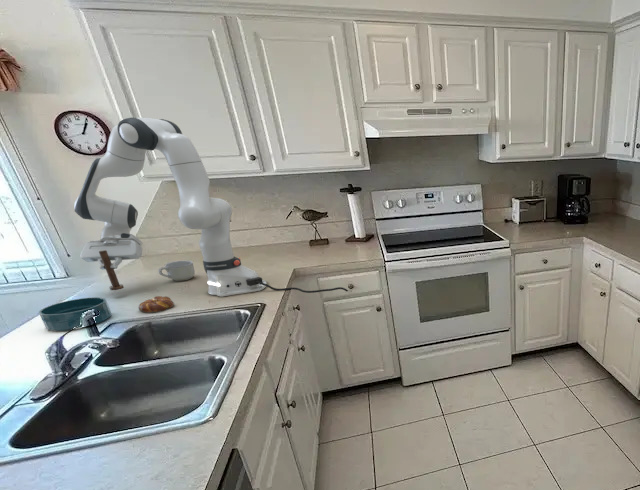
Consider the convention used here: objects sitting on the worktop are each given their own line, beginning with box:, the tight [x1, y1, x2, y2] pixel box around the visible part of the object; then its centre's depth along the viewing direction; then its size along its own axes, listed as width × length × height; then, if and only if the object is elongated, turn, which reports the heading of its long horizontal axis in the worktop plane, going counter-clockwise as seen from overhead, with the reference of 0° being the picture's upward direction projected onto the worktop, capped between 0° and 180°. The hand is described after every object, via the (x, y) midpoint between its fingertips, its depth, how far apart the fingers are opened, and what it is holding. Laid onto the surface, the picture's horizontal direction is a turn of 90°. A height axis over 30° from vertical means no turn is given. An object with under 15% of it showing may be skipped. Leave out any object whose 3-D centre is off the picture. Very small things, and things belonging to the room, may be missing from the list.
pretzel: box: [137, 295, 175, 313], centre depth 161 cm, size 12×11×4 cm
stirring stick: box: [99, 250, 125, 291], centre depth 169 cm, size 4×4×16 cm
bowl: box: [38, 296, 112, 332], centre depth 148 cm, size 17×17×6 cm
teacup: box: [158, 259, 196, 282], centre depth 194 cm, size 14×11×8 cm
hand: (108, 268), depth 168 cm, fingers closed on stirring stick, 2 cm apart
